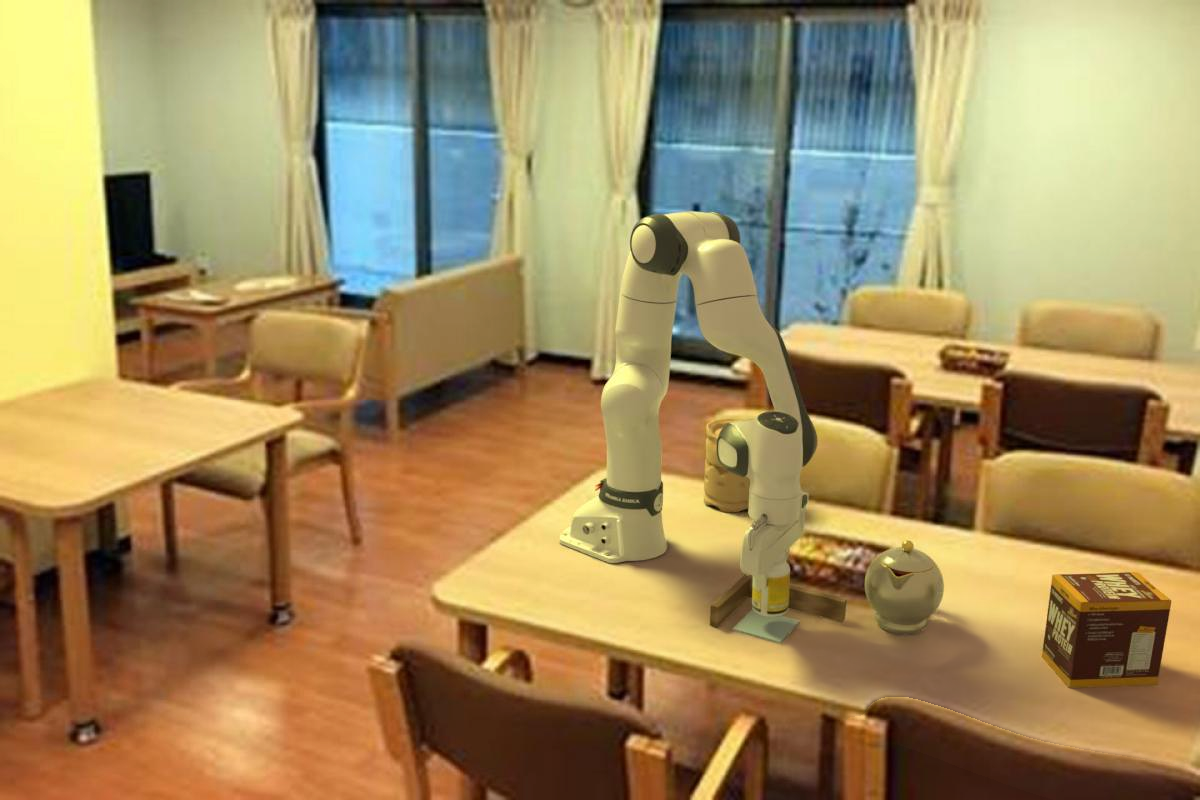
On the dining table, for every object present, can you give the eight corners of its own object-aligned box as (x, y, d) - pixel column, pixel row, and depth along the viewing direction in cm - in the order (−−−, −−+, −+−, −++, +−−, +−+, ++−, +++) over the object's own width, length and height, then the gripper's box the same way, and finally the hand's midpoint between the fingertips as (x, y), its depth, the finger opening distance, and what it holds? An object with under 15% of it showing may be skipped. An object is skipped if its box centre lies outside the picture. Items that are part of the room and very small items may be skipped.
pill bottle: (795, 610, 209) (799, 550, 206) (771, 622, 205) (774, 560, 202) (767, 598, 214) (770, 539, 210) (743, 609, 210) (746, 549, 206)
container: (745, 517, 258) (749, 439, 253) (694, 505, 264) (696, 429, 259) (768, 498, 268) (772, 423, 263) (718, 488, 274) (721, 414, 269)
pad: (732, 630, 209) (732, 628, 209) (753, 610, 216) (753, 608, 216) (780, 643, 205) (780, 641, 204) (799, 622, 212) (799, 620, 212)
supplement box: (1039, 656, 201) (1051, 573, 197) (1126, 653, 203) (1139, 570, 198) (1067, 688, 192) (1080, 601, 187) (1158, 685, 193) (1173, 599, 188)
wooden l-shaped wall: (709, 625, 211) (710, 605, 209) (745, 592, 223) (746, 573, 222) (814, 655, 201) (815, 633, 200) (845, 618, 214) (846, 598, 212)
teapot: (930, 651, 202) (939, 564, 198) (852, 634, 208) (859, 549, 203) (949, 608, 218) (958, 526, 213) (876, 593, 224) (883, 513, 219)
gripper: (767, 530, 194) (764, 606, 198) (812, 490, 210) (808, 561, 215) (732, 523, 197) (729, 598, 201) (779, 484, 213) (776, 554, 218)
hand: (770, 578), depth 208 cm, fingers closed on pill bottle, 6 cm apart
